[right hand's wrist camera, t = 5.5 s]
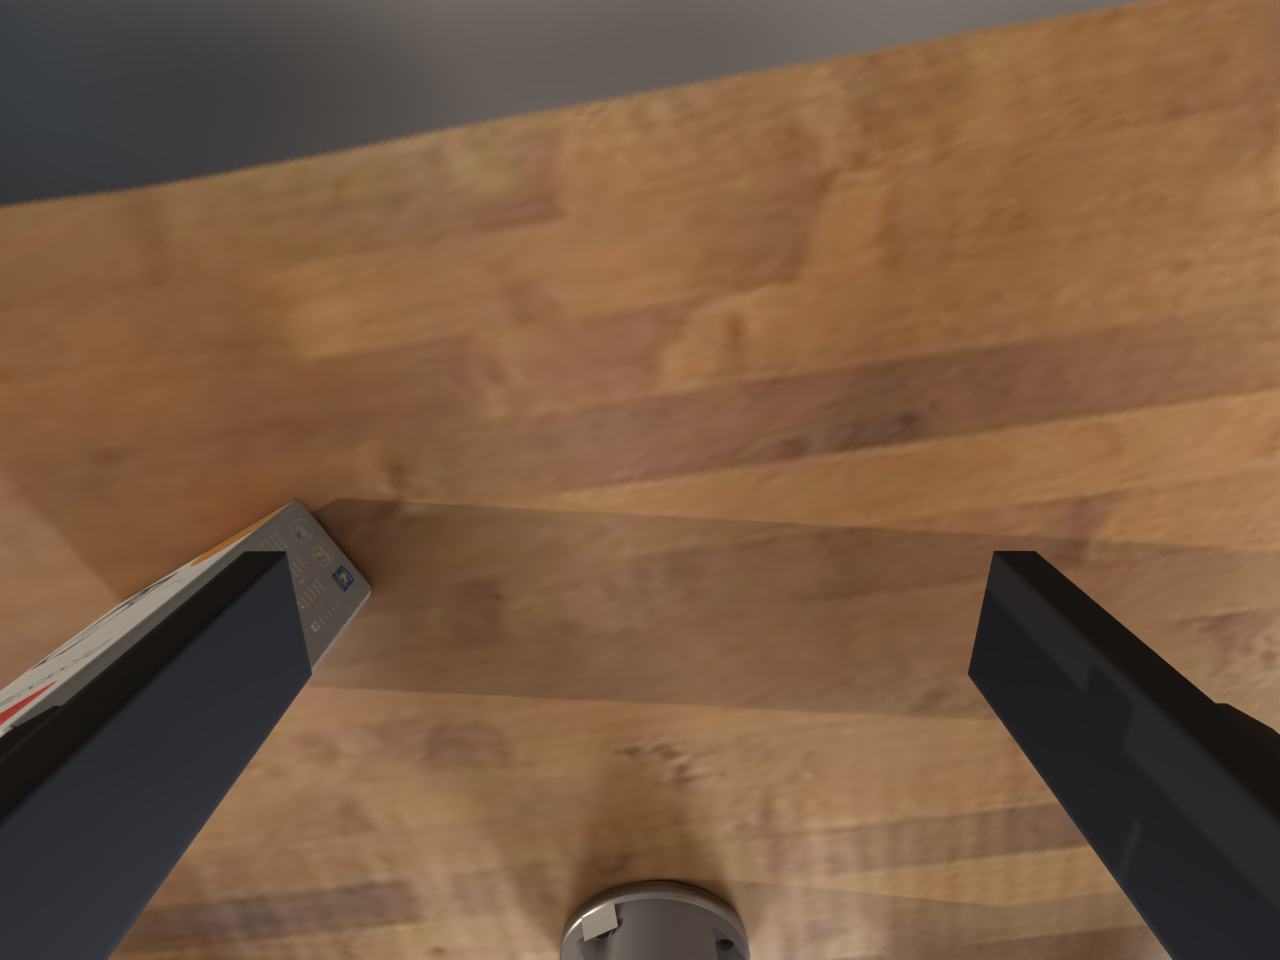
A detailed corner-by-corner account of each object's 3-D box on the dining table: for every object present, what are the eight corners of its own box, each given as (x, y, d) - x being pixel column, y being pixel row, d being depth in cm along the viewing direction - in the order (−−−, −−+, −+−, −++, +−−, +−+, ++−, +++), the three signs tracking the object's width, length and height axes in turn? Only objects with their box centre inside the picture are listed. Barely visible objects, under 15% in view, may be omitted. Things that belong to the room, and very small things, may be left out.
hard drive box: (299, 492, 41) (14, 723, 22) (378, 588, 43) (180, 868, 25) (112, 603, 44) (-277, 890, 25) (196, 688, 46) (-102, 1006, 28)
